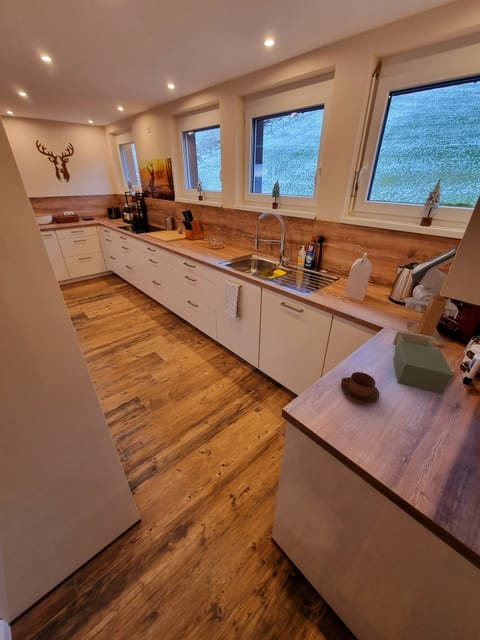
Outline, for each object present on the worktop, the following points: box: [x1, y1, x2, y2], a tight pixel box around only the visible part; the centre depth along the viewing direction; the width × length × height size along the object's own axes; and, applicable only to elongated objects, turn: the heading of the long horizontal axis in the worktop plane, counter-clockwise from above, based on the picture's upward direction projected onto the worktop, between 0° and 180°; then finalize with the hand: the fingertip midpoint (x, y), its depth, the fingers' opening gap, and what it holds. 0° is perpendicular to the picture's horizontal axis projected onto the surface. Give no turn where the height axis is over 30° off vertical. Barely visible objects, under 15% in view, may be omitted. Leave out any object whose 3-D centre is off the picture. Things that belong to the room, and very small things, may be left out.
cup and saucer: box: [340, 371, 381, 405], centre depth 87 cm, size 12×12×6 cm
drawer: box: [391, 329, 435, 351], centre depth 107 cm, size 19×12×7 cm, turn 158°
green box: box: [392, 341, 454, 395], centre depth 95 cm, size 16×14×9 cm
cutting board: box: [406, 321, 446, 349], centre depth 123 cm, size 12×18×2 cm, turn 158°
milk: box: [342, 252, 373, 302], centre depth 157 cm, size 12×12×26 cm
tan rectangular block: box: [418, 293, 447, 336], centre depth 118 cm, size 5×5×20 cm
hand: (434, 313), depth 117 cm, fingers open, 8 cm apart
